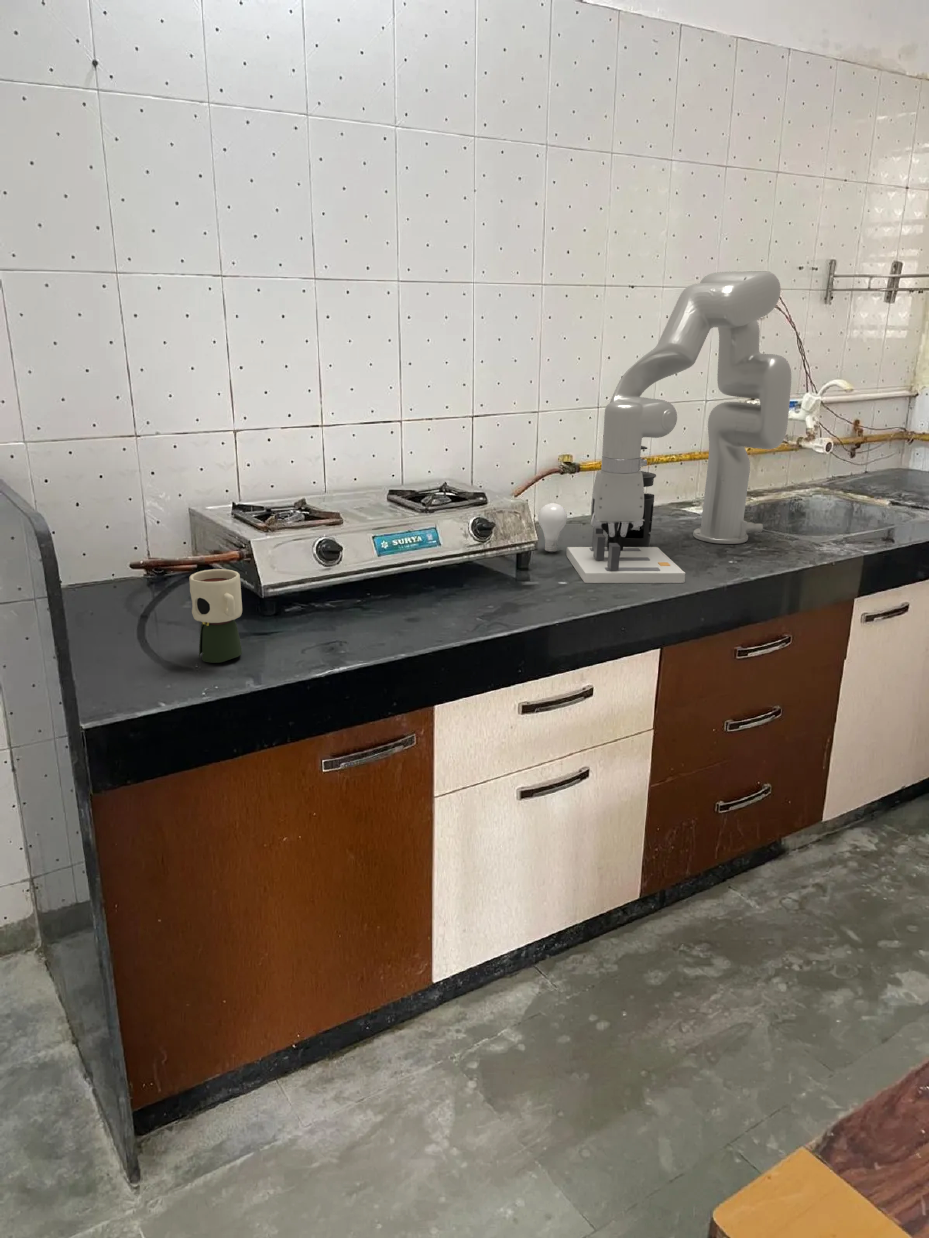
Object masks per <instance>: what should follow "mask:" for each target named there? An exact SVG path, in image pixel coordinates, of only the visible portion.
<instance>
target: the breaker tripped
mask: <svg viewBox="0 0 929 1238" xmlns="http://www.w3.org/2000/svg"><path fill="white" fill-rule="evenodd" d="M606 538H607V537H606V536H605V534H604V533H603V534H595V540H594V554H593V556H594V558H595V559H596V560H604V552H605V547H606Z"/></svg>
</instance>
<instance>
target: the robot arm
mask: <svg viewBox="0 0 929 1238" xmlns="http://www.w3.org/2000/svg"><path fill="white" fill-rule="evenodd" d="M781 290H782V289H781V282H780V280H779V278H778V277H777V276H776V274H774V273H772V272H770V271H766V270H764V271H763V270H762V271H761V270H757V271H756V270H755V271H752V270H751V271H719V272H713V273H708V274H707V275H705V276H703V278H702V279H701V280H700V282H697V283H694V284H690V285H688V286H687V287H685V288H684V289H683V290H682V291H681V293H680V295H679V297H678V298H677V301H676V303H675V306H674V308H673V310H672V312H671V314H670V316H669V318H668V320H667V323H666V325H665V328H664V329H663V331H662V333H661V335H660V338H659V339H658V342H657V344H656V346H655V347H654V348H653V349H651V350H650V351H649V352H647V353H646V354H645V355H643V356H642V357H641V358H640V359H638V360H637V361H636V362H635V363H634V364H633V365H632V366H630V367H629V368H628V369H627V371H626V372H625V373H624V374H623V375H622V377H621V378H620V380H619V381H618V383H617V386H616V388H615V390H614V392H613V394H612V396H611V399H610V401H609V403H607V404H606V406H605V408H604V416H603V417H604V420H603V434H602V435H603V436H602V451H601V452H602V455H601V469H600V470H598V471H596V473H595V474H596V475H595V479H594V482H593V489H592V494H591V496H592V497H591V502H590V514H591V515H590V516H591V520H590V525H591V527H592V528H593V527H596V528H601V529H603V532H605V533H606V534H607V545H606V547H607V550H608V551H609V543H617V544H618V545H619V546H620V552H621V551H623V542H624V537H625V536H626V534H627V533H628V532H629V531H630V530H631V529H632V530H633V529H635V528H640V527H639V526H642V525H643V520H642V518H643V514H644V493H645V487H644V484H643V475H642V472H641V471H642V470H641V469H642V468H643V467H647V465H648V460H647V459H644V458H642V457H641V453H642V451H641V446H642V440H643V438H652V439H657V438H662V437H663V438H664V437H666V436H668V435H669V434H670V433H671V432H672V431H673V430H674V429H675V427H676V426H677V423H678V412H677V409H676V408H675V406H674V405H673V404H672V403H670V402H669V401H667V400H664V399H659V398H651V397H650V398H649V397H642V394H643V393H644V392H645V391H646V390H647V389H648V388H649V387H650V386H653V384H655V383H656V382H658V381H661V380H663V379H666V378H668V377H671V376H673V375H676V374H679V373H681V372H684V371H686V370H688V369H690V368H691V367H693V366H694V364H695V363H696V361H697V359H698V357H699V354H700V352H701V351H702V348H703V346H704V343H705V342H706V339H707V337H708V334H710V331H711V329H712V328H717V330H718V353H717V354H718V357H717V358H718V361H717V374H716V375H717V378H716V379H717V388H718V390H719V391H720V392H721V393H722V394H723V395H726V396H730V397H735V398H736V397H737V398H747V399H756V400H759V404H758V403H750V402H741V401H725V402H721V403H719V404H717V405H715V406H714V407H713V408H712V410H711V411H710V413H709V415H708V420H707V433H708V434H707V435H708V436H707V437H708V461H707V469H706V479H705V487H704V494H703V495H704V497H703V504H702V505H703V506H702V511H701V512H702V515H701V525H700V527H699V528H695V529H694V530H693V533H692V535H693V537H694V538H695V539H697V540H699V541H702V542H707V543H712V544H721V545H723V544H724V545H737V544H744V543H745V542H748V539H749V535H748V534H749V533H750V532H754V533H756V532H758V533H762V531H763V529H764V526H763V523H754V522H753V521H752V522H751V521H750V522H749V521H747V520H745V519H744V517H745V512H746V511H745V509H746V502H747V495H748V487H749V479H750V474H751V473H750V472H751V460H750V457H749V455H748V453H747V451H746V448H753V449H760V450H773V449H776V448H778V447H779V446H780V445H781V444H782V443H783V441H784V439H785V438H786V433H787V430H788V424H789V411H790V402H791V392H792V391H791V390H792V389H791V388H792V370H791V365H790V363H789V362H788V360H787V359H786V358H785V357H784V356H782V355H778V354H774V353H773V354H772V353H769V354H768V353H761V352H760V325H759V322H758V319H761V318H763V317H765V316H767V315H769V314H770V313H771V312H772V311H773V310H774V309H775V308H776V307H777V304H778V302H779V300H780V297H781ZM745 447H746V448H745ZM614 522H619V525H618V529H617V532H616V533H615V529H614Z"/></svg>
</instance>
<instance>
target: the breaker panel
mask: <svg viewBox="0 0 929 1238" xmlns="http://www.w3.org/2000/svg"><path fill="white" fill-rule="evenodd" d="M593 554H594V549H593V548H592V546H567V547H566V557H567V559H568V560H569V562H570V563H571V565H572V566H573V567H574V569H575V571H576V572H577V574H578V575H579V577H580V578H581V580H582V581H583V583H584V584H685V580H686V572H685V571H683V570H682V569H681V567H680V566H679V565H677V564H676V563H675V562H674V561H673V560H672V559H670V557H669V556H668V555H666V554H665V553H664V552H663V551H662V550H661V549H660V548H659V547H658V546H650V547H623V551H621V552H620V557H619V569H618V570H610V569H609V568H608V567H607V563H608V550H607V546H605V552H604V560H596V559H595V558H594V556H593Z"/></svg>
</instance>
